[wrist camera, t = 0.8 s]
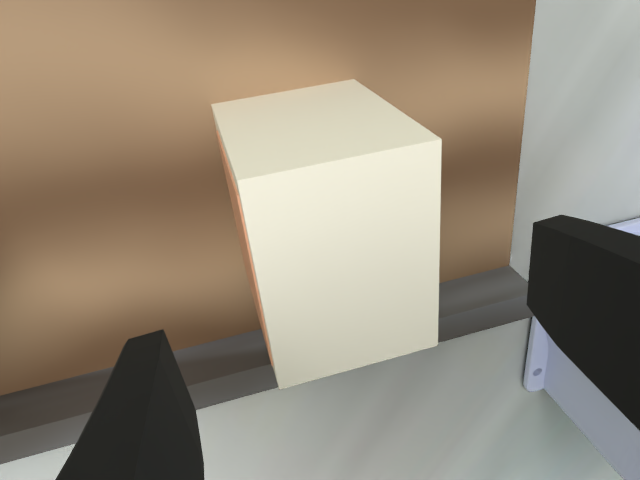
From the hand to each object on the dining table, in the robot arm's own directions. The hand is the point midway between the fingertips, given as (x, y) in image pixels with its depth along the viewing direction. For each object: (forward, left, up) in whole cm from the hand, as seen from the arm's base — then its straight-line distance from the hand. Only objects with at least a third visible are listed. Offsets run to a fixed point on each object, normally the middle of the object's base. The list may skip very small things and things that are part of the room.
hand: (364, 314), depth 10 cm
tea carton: (-1, -1, -8) cm, 9 cm away
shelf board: (-1, +3, -10) cm, 11 cm away
